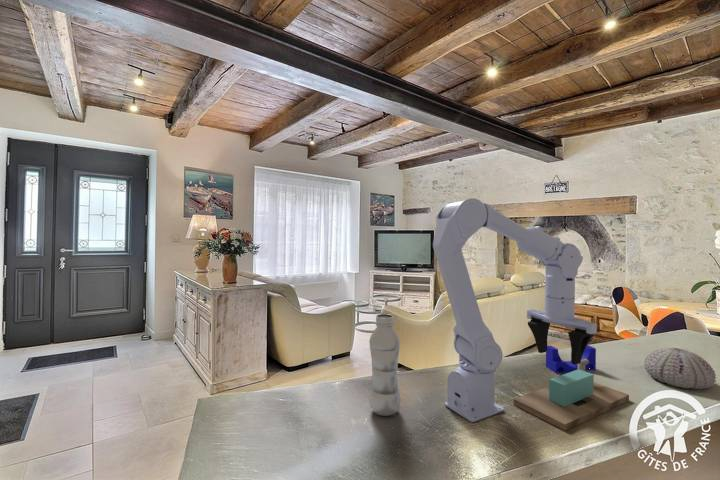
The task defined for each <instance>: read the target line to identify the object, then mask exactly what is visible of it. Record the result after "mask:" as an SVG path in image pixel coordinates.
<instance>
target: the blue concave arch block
mask: <svg viewBox="0 0 720 480" xmlns="http://www.w3.org/2000/svg"><path fill="white" fill-rule="evenodd" d="M584 359H588V360H589V364H586V365H585V371H596V370H597V369H596V368H597V366H596V365H597V364H596V363H597V360H596V359H597V349H596V348H595V347H594V346H591V345H590V344H587V346H586V348H585V350H584V353H583V355H582V359H581V360H584ZM545 368H547V369H549V370H551V372H553V373H554V374H566V373H569V372H572V371H575V370H578V364H576V365H574V364H572V362H571V360H567V361H566V360H563V359H561V356H560V354H559V349H558V348H557V347H554V346H553V345H547V351H546V352H545ZM589 368H590V369H589Z"/></svg>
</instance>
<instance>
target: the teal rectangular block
mask: <svg viewBox="0 0 720 480" xmlns="http://www.w3.org/2000/svg"><path fill="white" fill-rule="evenodd" d="M548 381H549V383H548V384H549V385H548V387H549V400H550V401H552V402H555V403H557V404H559V405H561V406H563V407H565V406H567V405H569V404H574V403H577V402H578V401H582V400H581V399H584V398H586V397H589V396H591V395H593V383H594V381H595V380H594V373H591V372H588V371H586V370H585V371H582V370H579V369H578V370H575V371H572V372H569V373H562V374H561V375H558V376H554V377H553V378H550V379H549V380H548Z"/></svg>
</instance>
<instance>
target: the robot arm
mask: <svg viewBox="0 0 720 480" xmlns="http://www.w3.org/2000/svg"><path fill="white" fill-rule="evenodd" d="M435 222H436V225H435V230H434V235H433V240H432V241H433V242H432V248H433V252H434V255H435V257H436V260H437V264H438V267H439V271H440V274H441V277H442V281H443V284H444V288H445V292H446V295H447V297H448V300H449V301H448V302H449V304H450V308H451V310H452V311H451V312H452V314H453V317H454V320H455V326H453V329H452V330H453V333H454V340H453V348H454V350H455V352H456V354H458V360H459V361H458V366H457V367H456V368H455V369H454V370H451V371H450V372H449V374H448V376H447V397H446V398H447V401H445V402H444V405H445V406H446V407H447V408H449V409H450V410H452V411H454V412H455V413H457V414H458V415H460V416H461V417H463V418H464V419H466V420H468V421H469V422H471V423H475V422H477V421H480V420H483V419H486V418H488V417H491V416H494V415H495V414H498V413H501V412H504V411H505V407H503V406H501V405H499V404H497V403H496V401H495V400H496V399H495V398H496V393H495V392H496V391H495V390H496V389H495V387H496V372H497V369H498V368H499V366H500V365H501V363H502V361H503V351H502V348H501V346H500V345H499V344H498V342H496V341H495V339H494V335H493V333H492V332H491V330H490V328H488V326H487V325H486V324H485V322H484V320H483V317H482V313H481V310H480V308H479V303H478V300H477V297H476V295H475V294H476V293H475V291H474V287H473V284H472V280H471V277H470V273H469V270H468V267H467V264H466V260H465V257H464V255H463V254H464V253H463V251H462V250H463V248H464V246H465V244H466V243H467V241H468V240H469V239H470V238H471V237H472V236H474V234H476V233H477V232H478V231H479V230H481V228H487V229H489V230H491V231H493V232H496V233H498V234H499V235H502V236H504V237H506V238H508V239H510V240H513V241H515V242H516V247H517V249H518V250H520V251H522V252H523V253H525V254H528V255H529V256H531V257H533V258H535V259H537V260H539V261H540V264H541V265H542V266H543V267H545V269H544V271H545V273H544V274H545V277H544V283H545V284H544V310H543V311H542V310H537V309H527V310H526V319H529V321H527V326H528V327H529V330H530V331H531V333H532V335H533V339H534V340H535V344H536V348H537V352H538V353H539V354H545V353H546V351H547V346H548V334H549V329H550V325H551V324H553V325H555V326H559V327H564V328H569V329H573V330H571V331H568V333H567V334H568V337H569V342H570V348H571V350H570V351H571V352H570V357H571V358H570V361H571V362H572V364H574V365H576V364H580V363H581V359H582V355H583V353H584V350H585V348H586V346H587V345H589V343H590V341H591V340H592V338H593V337H594V335H595V334H597V331H598V324H597V323H594V322H591V321H587V320H584V319H581V318H578V317H575V308H576V307H575V306H576V305H575V304H576V303H575V300H576V278H577V276H578V270H579V267H580V266H581V265H582V262H583V260H584V259H583V258H584V256H583V255H582V254H581V251H580V249H579V248H578V246H576V245H575V244H574V243H567V242H563V241H561V238H560V237H558V236H553V235H550V234H549V233H547V232H545V231H544V227H541V226H540V225H538V226H537V225H534V226H532V225H531V226H528V227H523V226H522V225H521V224H519V223H518V222H516V221H514V220H512V219H511V218H509V217H508V216H506V215H504V214H502V213H501V212H499V211H498V210H497V209H495V208H493V207H492V206H491V204H489V203H485V202H483V201H481V200H479V199H478V198H467V199H464V200H459V201H449V202H447V203H445V204H444V205H442V207H440V210H439V211H438V213H437V214H436V216H435Z"/></svg>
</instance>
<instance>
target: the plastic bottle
mask: <svg viewBox="0 0 720 480" xmlns="http://www.w3.org/2000/svg"><path fill="white" fill-rule="evenodd" d="M394 325H395V322H394V315H393V314H389V313H380V314H376V315H375V326H376V328H375V329H374V331H372V334H371V335H370V336H369V349H370V357H371V372H372V373H371V385H370V390H369V405H370V408H371V410H372V412H373V413H375V414H376V415H378V416H382V417H389V416H393V415H395V414H396V413H398V411H399V409H400V407H401V394H400V389H399V379H398V368H399V367H398V366H399V355H400V348H401V347H400V345H401V340H400V337H399V335H398V333H397V331H396V330H395V329H394V327H393V326H394Z"/></svg>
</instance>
